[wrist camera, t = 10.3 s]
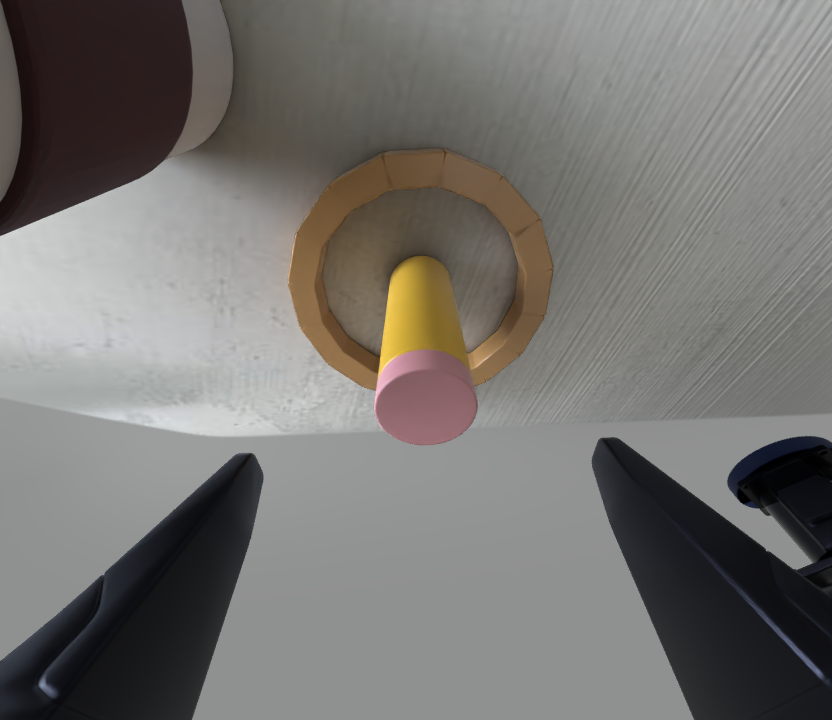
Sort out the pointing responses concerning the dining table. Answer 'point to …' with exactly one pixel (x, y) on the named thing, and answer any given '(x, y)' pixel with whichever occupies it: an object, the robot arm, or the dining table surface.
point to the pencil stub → (423, 358)
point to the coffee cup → (103, 95)
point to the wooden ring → (408, 174)
